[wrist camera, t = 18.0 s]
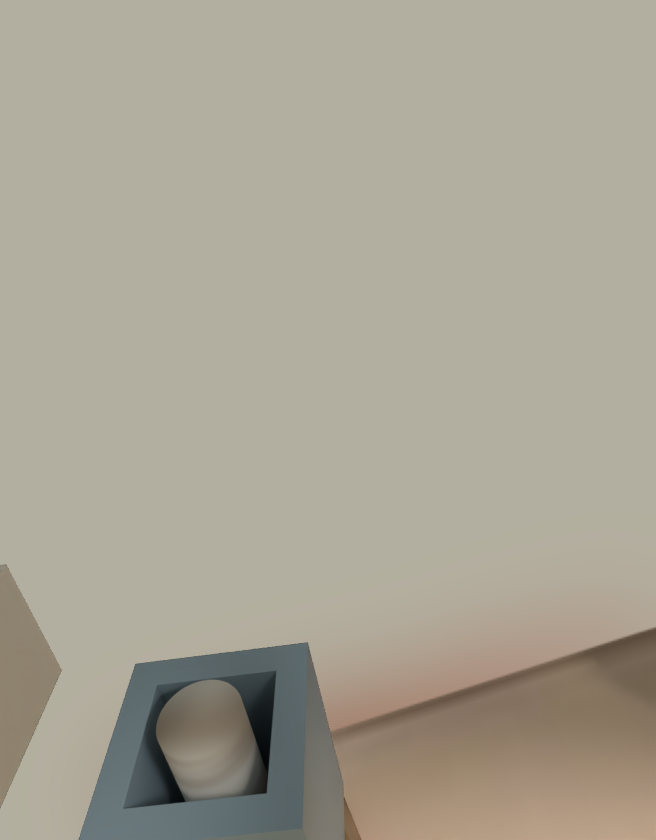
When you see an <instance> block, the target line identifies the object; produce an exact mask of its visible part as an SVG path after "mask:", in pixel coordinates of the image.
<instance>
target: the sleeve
mask: <svg viewBox="0 0 656 840" xmlns="http://www.w3.org/2000/svg"><path fill="white" fill-rule="evenodd" d="M203 680H221V681H224V682H227V683H229V684H231V685H232V686H233V687H235V688H236V690H237V691H238V692H239V694H240V696H241V699H242V702H243V704H244V707H245V710H246V713H247V716H248V719H249V722H250V725H251V728H252V731H253V734H254V737H255V739H256V742H257V745H258V748H259V751H260V754H261V757H262V760H263V763H264V766H265V769H266V772H267V774H268V785H267V793H266V794H256V795H247V796H238V797H229V798H219V799H210V800H201V801H192V802H185V799H184V797H183V795H182V793H181V791H180V788H179V786H178V784H177V782H176V780H175V778H174V775H173V773H172V771H171V769H170V767H169V764H168V762H167V760H166V758H165V756H164V753H163V751H162V749H161V747H160V745H159V742H158V740H157V736H156V725H157V720H158V718H159V715H160V713H161V711H162V709H163V708H164V706H165V705H166V703H167V702H168V701H169V700H170V699H171V698H172V697H173V696H174V695H175V694H176V693H177V692H179V691H180V690H182V689H183V688H185V687H187V686H189V685H191V684H193V683H196V682H199V681H203ZM79 840H345V826H344V792H343V780H342V776H341V772H340V768H339V764H338V760H337V756H336V752H335V748H334V745H333V741H332V737H331V733H330V729H329V725H328V721H327V718H326V713H325V709H324V705H323V701H322V697H321V693H320V689H319V685H318V682H317V677H316V674H315V670H314V666H313V662H312V658H311V654H310V650H309V646H308V643H299V644H291V645H283V646H276V647H268V648H259V649H251V650H243V651H235V652H227V653H219V654H211V655H204V656H195V657H188V658H179V659H171V660H163V661H155V662H147V663H139V664H135V667H134V670H133V673H132V676H131V680H130V682H129V686H128V689H127V692H126V695H125V698H124V701H123V704H122V707H121V710H120V713H119V717H118V720H117V723H116V726H115V729H114V732H113V735H112V738H111V741H110V744H109V747H108V750H107V754H106V757H105V760H104V763H103V766H102V769H101V772H100V775H99V778H98V781H97V785H96V788H95V791H94V794H93V797H92V800H91V803H90V806H89V809H88V812H87V816H86V819H85V822H84V825H83V828H82V831H81V834H80V837H79Z"/></svg>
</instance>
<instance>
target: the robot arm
mask: <svg viewBox="0 0 656 840" xmlns="http://www.w3.org/2000/svg"><path fill="white" fill-rule="evenodd" d="M60 673H61V668H60V666H59V664H58V662H57V661H56V658H55V656H54V655H53V653H52V651H51V649H50V647H49V645H48V643H47V641H46V639H45V637H44V635H43V634H42V632H41V630H40V628H39V626H38V624H37V622H36V620H35V618H34V617H33V615H32V613H31V611H30V609H29V607H28V605H27V603H26V601H25V599H24V598H23V596H22V594H21V592H20V590H19V588H18V586H17V585H16V582H15V581H14V578H13V577H12V575H11V573H10V571H9V569H8V567H7V565H6V564H5V565H0V808H1V805H2V803H3V801H4V799H5V796H6V794H7V792H8V789H9V787H10V785H11V783H12V781H13V778H14V776H15V774H16V772H17V769H18V767H19V765H20V762H21V760H22V758H23V756H24V754H25V751H26V749H27V747H28V745H29V742H30V740H31V738H32V736H33V734H34V731H35V729H36V727H37V725H38V722H39V720H40V718H41V716H42V713H43V711H44V709H45V706H46V704H47V702H48V700H49V697H50V695H51V693H52V691H53V689H54V686H55V684H56V682H57V680H58V677H59V675H60Z"/></svg>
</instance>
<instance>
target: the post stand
mask: <svg viewBox="0 0 656 840" xmlns="http://www.w3.org/2000/svg"><path fill="white" fill-rule="evenodd" d="M156 736H157V740H158V742H159V745H160V747H161V749H162V751H163V753H164V756H165V758H166V760H167V762H168V764H169V767H170V769H171V771H172V773H173V775H174V778H175V780H176V782H177V784H178V786H179V788H180V791H181V793H182V795H183V797H184V799H185V802H192V801H201V800H210V799H219V798H229V797H238V796H247V795H256V794H266V793H267V785H268V774H267V772H266V769H265V766H264V763H263V760H262V757H261V754H260V751H259V748H258V745H257V742H256V739H255V737H254V734H253V731H252V728H251V725H250V722H249V719H248V716H247V713H246V710H245V707H244V704H243V702H242V699H241V696H240V694H239V692H238V691H237V690H236V688H235V687H233V686H232V685H231V684H229V683H227V682H224V681H221V680H203V681H199V682H196V683H193V684H191V685H189V686H187V687H185V688H183V689H182V690H180V691H179V692H177V693H176V694H175V695H174V696H173V697H172V698H171V699H170V700H169V701H168V702H167V703H166V705H165V706H164V708H163V709H162V711H161V713H160V715H159V718H158V720H157V725H156ZM344 826H345V840H361V838H360V835H359V833H358V830H357V828H356V825H355V823H354V820H353V818H352V815H351V813H350V811H349V808H348V806H347V803H346V801H345V798H344Z"/></svg>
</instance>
